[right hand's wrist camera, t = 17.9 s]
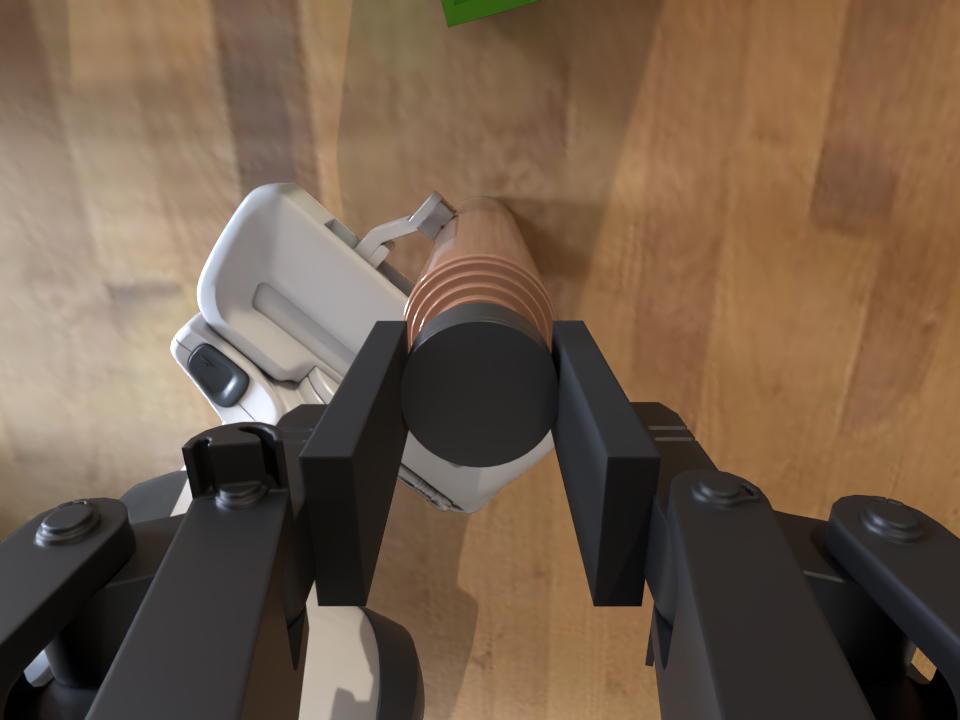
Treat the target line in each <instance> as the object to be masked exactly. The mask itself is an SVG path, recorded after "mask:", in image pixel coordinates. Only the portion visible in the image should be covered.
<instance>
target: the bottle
mask: <svg viewBox="0 0 960 720" xmlns="http://www.w3.org/2000/svg"><path fill="white" fill-rule="evenodd" d="M454 208H455V209H456V210H457V212H456V214H455V215H454V217H453V218H452V219H451V220H450V221H449V222H448V223H447V224H445V225H443V227H442V229H441V231H440V232H439V234H438V235H437V237H436V239H435V241H434V244H433V246H432V248H431V250H430V252H429V255H428V257H427V259H426V261H425V263H424V265H423V268H422V270H421V272H420V274H419V276H418V279H417V281H416V283H415V285H414V287H413V289H412V292H411V294H410V296H409V298H408V301H407V303H406V306H405V309H404V314H403V319H402V321H407V329H408V350H409V351H410V348H411V346H412V344H413V342H414V340H415V338H416V336H417V335H418V333H419V332H420V331H421V329H422V328H423V327H424V326H425V325H426V324H427V323H428V322H429V321H430V320H432V319H433V318H434V317H436V316H437V315H439V314H440V313H442V312H444V311H446V310H448V309H450V308H453V307H456V306H459V305H463V304H468V303H491V304H496V305H501V306H504V307H507V308H509V309H512V310H514V311H516V312H518V313H519V314H521V315H522V316H524V317H526V318H527V319H528V320H529V321H530V322H531V323H533V324H534V325H535V327H536V328H537V329H538V330H539V331H540V333H541V334H542V336H543V337H544V339H545V341H546V343H547V345H548V347H549V350H550V353H551V342H552V322H553V321H557V315H556V311H555V307H554V304H553V302H552V299H551V297H550V295H549V293H548V290H547V288H546V286H545V284H544V282H543V279H542V277H541V275H540V273H539V271H538V268H537V266H536V264H535V262H534V260H533V257H532V255H531V253H530V251H529V249H528V246H527V244H526V242H525V240H524V238H523V235H522V233H521V231H520V229H519V227H518V225H517V222H516V220H515V218H514V216H513V214H512V213H511V212H510V210H509V209H508V208H507V207H506V206H505V205H503V204H502V203H501V202H499V201H497V200H495V199H493V198H489V197H483V196H476V197H471V198H467V199H465V200H463V201H461V202H459V203H458V204H456V205H455V206H454Z"/></svg>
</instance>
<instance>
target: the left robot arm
mask: <svg viewBox="0 0 960 720" xmlns="http://www.w3.org/2000/svg"><path fill="white" fill-rule="evenodd" d="M456 212H457V210H456V209H455V208H454V207H453V206H452V205H450V204H449V203H448V202H447V201H446V200H445V199H444V198H443V197H442V196H441V195H440V194H439V193H438V192H437V191H435V192H434V193H433V194H432V195H431V196H430V197H429V198H428V199H427V201H426V202H425V203H424V204H423V205H422V206H421V208H420V209H419V210H418V211H417V212H416V213H415V215H414V216H412V215H409V216H406V217H403V218H400V219H397V220H394V221H391V222H388V223H384V224H381V225H378V226H376V227H375V228H373V229H372V230H371V231H370V232H369V233H368V234H367V235H366V236H365V237H364V239H363V240H361V239H360V238H359V237H358V236H356V235H355V234H354V233H353V232H352V231H351V230H350V229H348V228H347V227H346V226H345V225H344V224H343V223H341V222H340V221H339V220H338V219H337V218H336V217H335V216H333V215H332V214H331V213H330V212H329V211H328V210H326V209H325V208H324V207H323V206H322V205H321V204H320V203H318V202H317V201H316V200H315V199H314V198H313V197H312V196H310V195H309V194H308V193H307V192H306V191H305V190H304V189H302V188H301V187H300V186H299V185H297V184H295V183H292V182H286V183H272V184H267V185H263V186H260V187H258V188H256V189H254V190H253V191H252V192H251V193H250V194H249V195H248V196H247V197H246V198H245V199H244V201H243V202H242V203H241V205H240V206H239V207H238V209H237V210H236V212H235V213H234V215H233V216H232V218H231V219H230V221H229V223H228V224H227V226H226V227H225V229H224V231H223V232H222V234H221V236H220V238H219V239H218V241H217V243H216V245H215V246H214V248H213V250H212V252H211V254H210V256H209V258H208V260H207V262H206V264H205V266H204V268H203V271H202V273H201V276H200V279H199V283H198V288H197V300H198V305H199V308H200V312H199V313H198V314H196V315H195V316H194V317H193V318H192V319H190V320H189V321H188V322H187V323H186V324H185V325H184V326H183V327H182V328H181V329H180V331H179V332H178V333H177V334H176V335H175V337H174V338H173V340H172V342H171V352H172V354H173V356H174V358H175V359H176V361H177V362H178V363H179V365H180V366H181V367H182V369H183V370H184V371H185V372H186V373H187V375H188V376H189V377H190V378H191V380H192V381H193V382H194V383H195V384H196V386H197V387H198V388H199V389H200V391H201V392H202V393H203V395H204V396H205V397H206V398H207V400H208V401H209V403H210V404H211V405H212V407H213V408H214V409H215V411H216V412H217V414H218V415H219V416H220V418H221V419H222V421H223V423H222V425H225V424H232V423H238V422H263V423H267V424H271V425H274V426H275V425H276V424H277V423H278V421H279V420H280V418H281V417H282V416H283V415H284V414H286V413H287V412H289V411H291V410H292V409H294V408H296V407H297V406H299V405H300V404H329V403H330V401H331V399H332V398H333V396H334V394H335V392H336V391H337V389H338V387H339V385H340V384H341V382H342V380H343V379H344V377H345V375H346V373H347V372H348V370H349V368H350V366H351V365H352V363H353V361H354V359H355V358H356V356H357V354H358V352H359V351H360V349H361V347H362V346H363V344H364V342H365V340H366V339H367V337H368V335H369V333H370V332H371V330H372V328H373V326H374V325H375V323H376V321H402V319H403V314H404V309H405V306H406V303H407V301H408V298H409V296H410V294H411V292H412V289H413V287H414V285H413V284H412V283H410V282H409V281H408V280H407V279H406V278H405V277H404V276H402V275H401V274H400V273H399V272H398V271H397V270H395V269H394V268H393V267H392V266H391V265H390V264H389V263H387V262H386V261H385V260H384V259H385V258H386V256H387V255H388V254H389V253H390V252H391V250H392V249H393V248H394V247H395V243H394V242H393V241H392V239H395V238H398V237H401V236H404V235H407V234H410V233H413V232H416V231H419V230H420V231H421V232H422V233H423V234H425V235H426V236H427V237H428V238H429V239H430V240H433V239H434V238H435V237H436V236H437V235H438V234H439V232H440V231H441V229H442V227H443V225H445V224H447V223H448V222H449V221H450V220H451V219H452V218H453V217H454V215H455V214H456ZM554 447H555V446H554V442H553V437H552V433H551V429H550V431H549V433H548V434H547V435H546V436H545V438H544V439H543V440H542V441H541V442H540V443H539V444H538V445H537V446H536V447H535V448H534V449H533V450H531V451H530V452H529V453H527V454H526V455H524V456H522V457H520V458H519V459H516V460H514V461H512V462H509V463H506V464H503V465H499V466H493V467H483V468H477V467H466V466H460V465H457V464H453V463H450V462H448V461H445V460H443V459H441V458H439V457H437V456H436V455H434V454H432V453H431V452H430V451H428V450H427V449H425V448H424V447H423V446H422V445H421V444H420V443H419V442H418V441H417V440H416V438H415V437H414V436H413V435H412V433H411V432H410V430H409V432H408V436H407V440H406V444H405V448H404V452H403V456H402V461H401V465H400V469H399V473H398V477H397V479H398V480H399V481H400V482H401V483H403V484H404V485H406V486H407V487H409V488H410V489H412V490H414V491H416V492H417V493H419V494H420V495H422V496H423V497H424V498H426V499H427V501H428V502H429V503H430V504H431V505H432V506H433V507H435V508H436V509H438V510H440V511H443V512H446V511H448V510H451V511H453V512H457V513H475V512H477V511H478V510H480V509H481V508H482V507H484V506H485V505H486V504H487V503H488V502H489V501H490V500H491V499H492V498H494V497H495V496H496V494H497V493H498V491H499V490H500V489H501V488H503V487H504V486H506V485H507V484H509V483H510V482H512V481H513V480H515V479H516V478H518V477H519V476H521V475H522V474H523V473H525V472H526V471H528V470H529V469H530V468H532V467H533V466H534V465H536V464H537V463H538V462H539V461H541V460H542V459H543V458H544V457H546V456H547V455H548V454H549V453H550V452H551V451H552V450H553V448H554ZM119 500H120V501H121V502H122V503H123V504H125V505H126V506H127V507H128V511H129V515H130V518H131V522H132V524H134V523H139V522H144V521H150V520H155V519H160V518H165V517H171V516H175V515H179V514H183V513H186V512H187V510H188V508H189V505H190V503H191V501H192V494H191V489H190V485H189V480H188V475H187V471H186V466H184V467H183V468H182V469H181V470H180V471H176V472H172V473H168V474H165V475H162V476H159V477H156V478H153V479H150V480H147V481H145V482H142V483H139V484H137V485H135V486H134V487H133V488H131V489H130V490H129V491H128V492H127V493H126V494H124V495H123V496H122V497H121V498H120V499H119ZM453 502H454V503H455V504H456V505H454V504H453ZM457 505H458V506H457ZM306 607H307V614H308V621H309V637H308V645H307V653H306V662H305V670H304V679H303V687H302V696H301V704H300V712H299V720H423V716H424V707H425V698H424V685H423V678H422V672H421V668H420V663H419V659H418V655H417V652H416V649H415V645H414V642H413V640H412V637H411V635H410V634H409V632H408V631H407V630H406V629H405V628H404V627H403V626H402V625H400V624H398V623H396V622H394V621H392V620H390V619H388V618H386V617H384V616H382V615H380V614H378V613H376V612H374V611H372V610H370V609H368V608H366V607H364V606H318V602H317V594H316V587H315V580H314V583H313V586H312V588H311V591H310V594H309V596H308V599H307V602H306ZM48 666H49V662H48V660H47V657H46V654H45V651H44V650H43V651H42V652H41V653H40V654H39V655H38V656H37V657H36V658H35V659H34V660H33V662H32V663H31V664H30V665H29V666H28V667H27V668H26V669H25V670H24V673H25V676H26V678H27V680H28V681H29V682H30V683H31V682H32V681H34V680H35V679H36V678H37V677H39V676H40V675H41V674H42V673H43V672H44V670H45V669H46V668H47V667H48Z"/></svg>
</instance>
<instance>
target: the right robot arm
mask: <svg viewBox="0 0 960 720" xmlns="http://www.w3.org/2000/svg"><path fill="white" fill-rule="evenodd" d="M408 354H409V350H408V329H407V321H376V323H375V325H374V326H373V328H372V330H371V332H370V333H369V335H368V337H367V339H366V340H365V342H364V344H363V346H362V347H361V349H360V351H359V352H358V354H357V356H356V358H355V359H354V361H353V363H352V365H351V366H350V368H349V370H348V372H347V373H346V375H345V377H344V379H343V380H342V382H341V384H340V385H339V387H338V389H337V391H336V392H335V394H334V396H333V398H332V399H331V401H330V403H329V404H300V405H299V406H297V407H296V408H294V409H292V410H291V411H289V412H287V413H286V414H284V415H283V416H282V417H281V418H280V420H279V421H278V423H277V424H276V425H275V426H274V425H271V424H267V423H263V422H238V423H232V424H225V425H221V426H218V427H215V428H212V429H209V430H206V431H204V432H202V433H200V434H198V435H197V436H195V437H193V438H191V439H190V440H189V441H188V442H187V443H186V444H185V445H184V446H183V447H182V452H183V457H184V461H185V466H186V471H187V475H188V480H189V485H190V489H191V494H192V501H191V503H190V505H189V508H188V510H187V512H186V513H183V514H179V515H175V516H171V517H165V518H160V519H155V520H150V521H144V522H139V523H134V524H132V522H131V518H130V515H129V511H128V507H127V506H126V505H125V504H123V503H122V502H121V501H120V500H115V499H110V498H91V499H80V500H75V502H72V501H70V502H67V503H64V504H61V505H59V506H57V507H56V508H53V509H51V510H48V511H46V512H44V513H41V514H39V515H38V516H36V517H35V518H33V519H31V520H30V521H28V522H27V523H25V524H23V525H22V526H21V527H19V528H18V529H17V530H16V531H14V532H13V533H12V534H10V535H9V536H8V537H7V538H5V539H4V540H3V541H1V542H0V720H299V712H300V704H301V696H302V687H303V679H304V670H305V662H306V653H307V645H308V637H309V621H308V614H307V607H306V602H307V599H308V596H309V594H310V591H311V588H312V586H313V583H314V580H315V587H316V594H317V602H318V606H366V603H367V599H368V595H369V591H370V587H371V583H372V579H373V575H374V571H375V567H376V562H377V558H378V554H379V550H380V546H381V542H382V538H383V534H384V530H385V526H386V522H387V518H388V514H389V509H390V505H391V501H392V497H393V493H394V489H395V485H396V481H397V477H398V473H399V469H400V465H401V461H402V456H403V452H404V448H405V444H406V440H407V436H408V432H409V428H408V427H407V425H406V423H405V421H404V418H403V416H402V407H401V389H400V379H401V375H402V372H403V369H404V366H405V363H406V360H407V357H408ZM551 356H552V359H553V362H554V365H555V368H556V371H557V374H558V377H559V400H558V414H557V417H556V419H555V422H554V424H553V426H552V428H551V433H552V437H553V442H554V446H555V450H556V454H557V458H558V462H559V466H560V470H561V474H562V478H563V482H564V486H565V490H566V495H567V499H568V503H569V507H570V511H571V515H572V519H573V523H574V527H575V531H576V535H577V539H578V544H579V548H580V552H581V556H582V560H583V564H584V568H585V572H586V576H587V580H588V584H589V588H590V592H591V597H592V601H593V605H594V606H642V599H643V591H644V584H645V578H646V581H647V584H648V586H649V589H650V592H651V594H652V597H653V600H654V607H653V614H652V621H651V628H650V635H649V642H648V649H647V656H646V663H645V665H647V666H653V662H654V661H655V669H656V677H657V686H658V694H659V703H660V711H661V719H662V720H960V539H959V538H958V537H956V536H955V535H954V534H952V533H951V532H950V531H949V530H947V529H946V528H945V527H943V526H942V525H941V524H940V523H938V522H937V521H935V520H933V519H932V518H930V517H929V516H927V515H925V514H924V513H922V512H921V511H919V510H916V509H914V508H911V507H909V506H907V505H904V504H903V503H901V502H899V501H896V500H893V499H889V498H888V499H886V498H885V497H879V496H865V495H852V496H847V497H841V498H840V499H839V500H837V501H836V502H835V503H834V504H833V505H832V509H831V513H830V517H829V521H824V520H818V519H813V518H808V517H803V516H797V515H792V514H787V513H783V512H779V511H775V510H773V509H772V507H771V505H770V502H769V500H768V498H767V497H766V496H765V495H764V494H763V492H762V491H761V490H760V489H759V488H758V487H757V486H755V485H753V484H752V483H750V482H749V481H747V480H746V479H743V478H741V477H738V476H736V475H733V474H730V473H728V472H722V471H719V470H718V469H717V468H716V466H715V465H714V463H713V462H712V461H711V459H710V458H709V457H708V455H707V454H706V452H705V451H704V450H703V448H702V447H701V446H700V444H699V443H698V441H695V437H694V436H693V435H692V433H691V432H690V430H687V426H686V425H685V424H684V422H683V421H682V419H681V418H680V417H679V415H678V414H677V413H675V412H674V411H672V410H671V409H669V408H667V407H666V406H664V405H662V404H661V403H659V402H629V400H628V398H627V397H626V395H625V393H624V391H623V390H622V388H621V386H620V384H619V383H618V381H617V379H616V377H615V376H614V374H613V372H612V371H611V369H610V367H609V365H608V364H607V362H606V360H605V358H604V357H603V355H602V353H601V351H600V350H599V348H598V346H597V344H596V343H595V341H594V339H593V338H592V336H591V334H590V332H589V331H588V329H587V327H586V325H585V324H584V322H583V321H553V322H552V342H551ZM916 647H918V648H919V649H920V650H921V651H922V652H923V653H924V655H925V656H926V657H927V658H928V659H929V660H930V661H931V662H932V663H933V664H934V665H935V666H936V667H937V669H936V672H935V674H934V677H933V679H932V680H931V681H929V680H928V679H927V678H926V677H924V676H923V675H922V674H921V673H920V672H919V671H918V670H917V669H916V668H915V666H914V665H913V664H912V663H911V661H912V658H913V655H914V653H915V650H916ZM43 650H44V651H45V654H46V657H47V660H48V662H49V666H48V667H47V668H46V669H45V670H44V672H43V673H42V674H41V675H40V676H39V677H37V678H36V679H35V680H34V681H32V682H31V683H30V682H29V681H28V680H27V678H26V676H25V673H24V670H25V669H26V668H27V667H28V666H29V665H30V664H31V663H32V662H33V660H34V659H35V658H36V657H37V656H38V655H39V654H40V653H41V652H42V651H43Z"/></svg>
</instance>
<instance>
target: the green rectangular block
mask: <svg viewBox="0 0 960 720" xmlns="http://www.w3.org/2000/svg"><path fill="white" fill-rule="evenodd" d="M537 1H540V0H441V2H442V5H443V9H444V13H445V16H446V20H447V24H448V27H451V26H455V25H458V24H462V23H465V22H468V21H472V20H475V19H479V18H482V17H486V16H489V15H492V14H496V13H499V12H503V11H506V10H509V9H513V8H516V7H520V6H523V5H526V4H530V3H533V2H537Z"/></svg>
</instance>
